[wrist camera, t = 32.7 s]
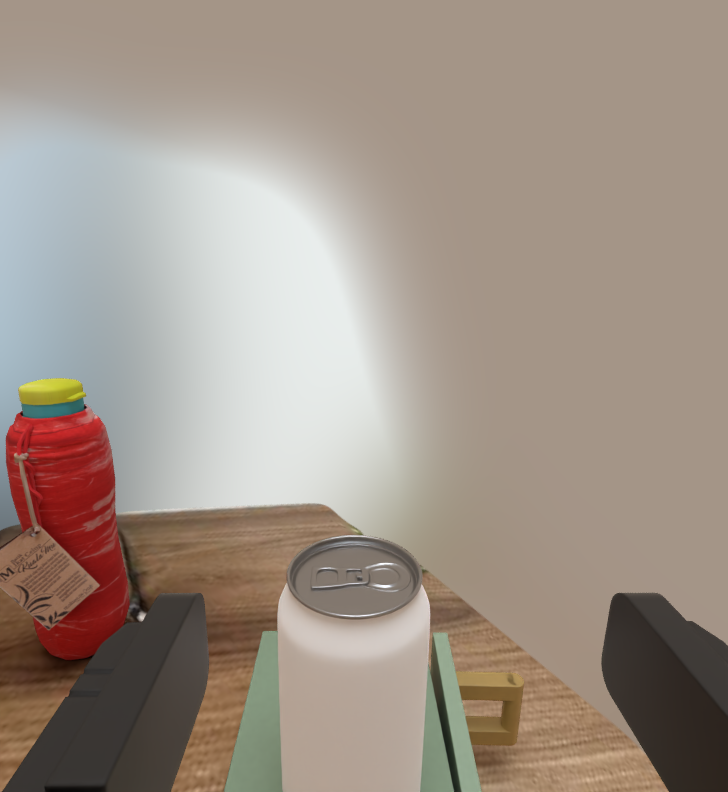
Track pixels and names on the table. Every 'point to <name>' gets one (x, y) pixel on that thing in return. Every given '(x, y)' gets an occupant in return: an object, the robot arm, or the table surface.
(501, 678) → the cabinet door
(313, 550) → the can
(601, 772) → the table surface
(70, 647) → the water bottle
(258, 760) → the cabinet
